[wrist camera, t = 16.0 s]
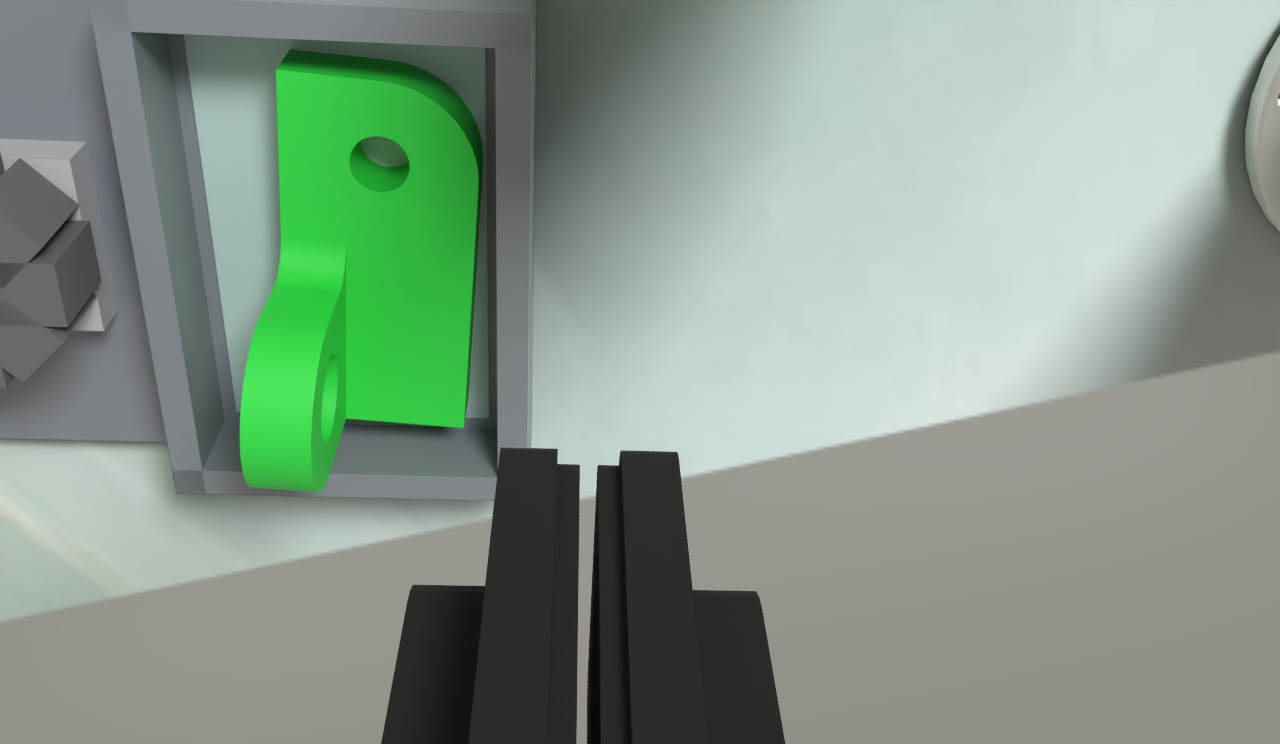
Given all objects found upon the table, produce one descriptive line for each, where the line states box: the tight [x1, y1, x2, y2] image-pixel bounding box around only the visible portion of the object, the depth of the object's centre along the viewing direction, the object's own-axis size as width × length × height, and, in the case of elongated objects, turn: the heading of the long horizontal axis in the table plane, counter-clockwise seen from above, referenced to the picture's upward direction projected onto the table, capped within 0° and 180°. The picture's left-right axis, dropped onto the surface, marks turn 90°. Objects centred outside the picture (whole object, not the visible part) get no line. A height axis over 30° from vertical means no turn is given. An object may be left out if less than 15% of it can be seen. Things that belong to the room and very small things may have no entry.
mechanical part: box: [240, 49, 483, 493], centre depth 37 cm, size 12×6×8 cm, turn 173°
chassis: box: [0, 0, 536, 501], centre depth 39 cm, size 21×17×5 cm
